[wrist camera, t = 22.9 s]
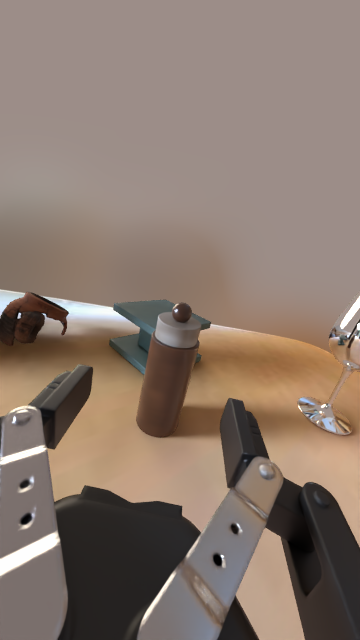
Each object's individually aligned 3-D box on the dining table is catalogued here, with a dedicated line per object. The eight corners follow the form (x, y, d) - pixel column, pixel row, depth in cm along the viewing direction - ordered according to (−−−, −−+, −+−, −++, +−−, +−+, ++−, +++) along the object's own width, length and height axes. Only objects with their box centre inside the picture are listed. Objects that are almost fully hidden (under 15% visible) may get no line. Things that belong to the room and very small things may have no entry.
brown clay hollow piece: (-4, 327, 39) (22, 286, 40) (51, 349, 44) (74, 312, 45) (-25, 343, 29) (11, 288, 30) (50, 370, 34) (80, 321, 35)
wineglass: (346, 446, 30) (437, 302, 23) (288, 408, 35) (349, 280, 28) (356, 421, 35) (432, 299, 28) (305, 392, 40) (359, 282, 33)
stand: (109, 344, 41) (113, 303, 38) (158, 334, 50) (165, 299, 47) (151, 381, 34) (160, 332, 31) (200, 361, 42) (211, 322, 40)
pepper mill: (127, 415, 27) (148, 295, 22) (159, 399, 30) (182, 294, 25) (154, 445, 24) (185, 315, 19) (186, 424, 27) (218, 310, 22)
